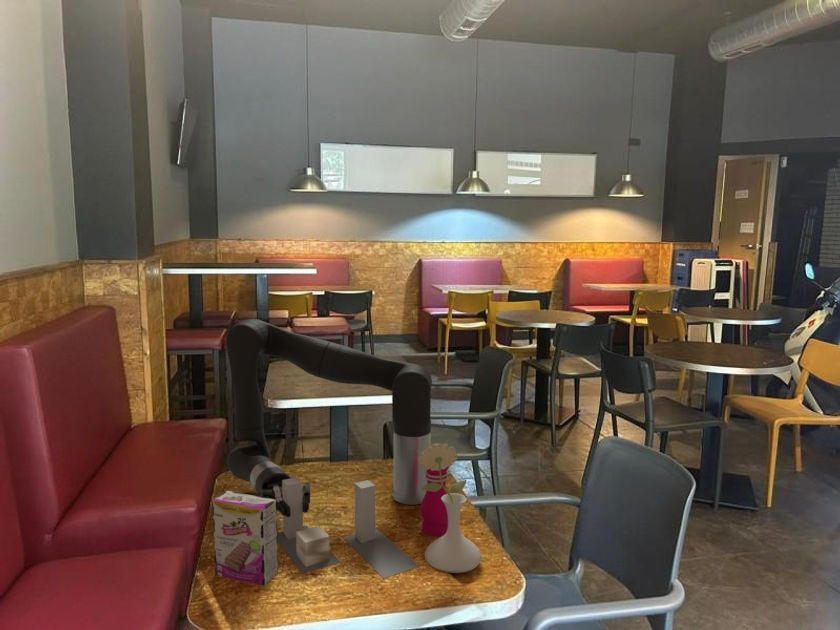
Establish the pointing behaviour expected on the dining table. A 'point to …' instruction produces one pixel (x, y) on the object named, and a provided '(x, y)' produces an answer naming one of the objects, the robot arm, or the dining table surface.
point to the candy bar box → (245, 537)
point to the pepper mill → (435, 505)
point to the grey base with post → (375, 536)
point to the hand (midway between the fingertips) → (297, 510)
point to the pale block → (312, 546)
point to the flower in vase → (449, 517)
